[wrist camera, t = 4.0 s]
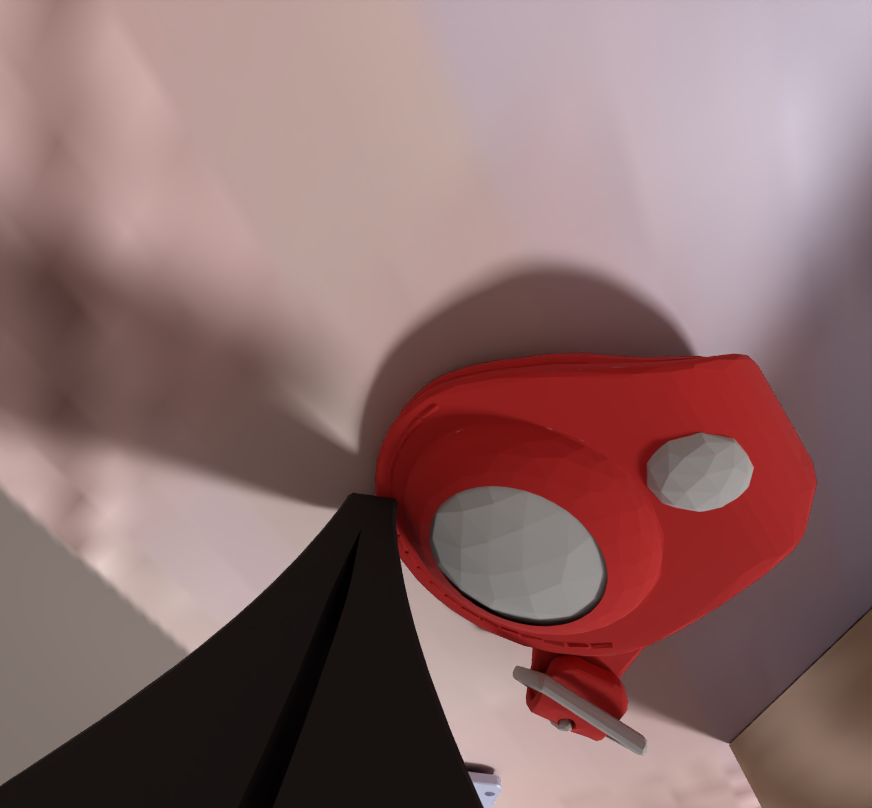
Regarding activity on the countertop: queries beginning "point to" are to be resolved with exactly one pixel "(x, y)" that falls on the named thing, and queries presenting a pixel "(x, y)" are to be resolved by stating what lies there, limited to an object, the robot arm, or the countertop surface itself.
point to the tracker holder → (594, 508)
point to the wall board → (817, 733)
